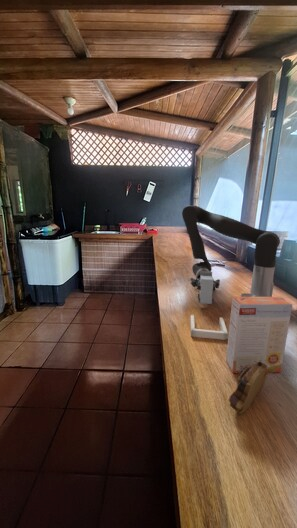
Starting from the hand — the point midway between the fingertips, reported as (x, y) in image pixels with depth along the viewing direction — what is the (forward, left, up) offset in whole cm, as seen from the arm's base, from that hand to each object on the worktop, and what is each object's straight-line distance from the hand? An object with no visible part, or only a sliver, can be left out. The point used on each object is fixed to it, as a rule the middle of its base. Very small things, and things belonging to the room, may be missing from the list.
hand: (206, 288), depth 102 cm
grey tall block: (0, -3, -7) cm, 7 cm away
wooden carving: (-6, +50, -10) cm, 51 cm away
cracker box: (-11, +36, -10) cm, 39 cm away
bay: (0, +17, -10) cm, 20 cm away
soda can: (-15, +10, -10) cm, 21 cm away
